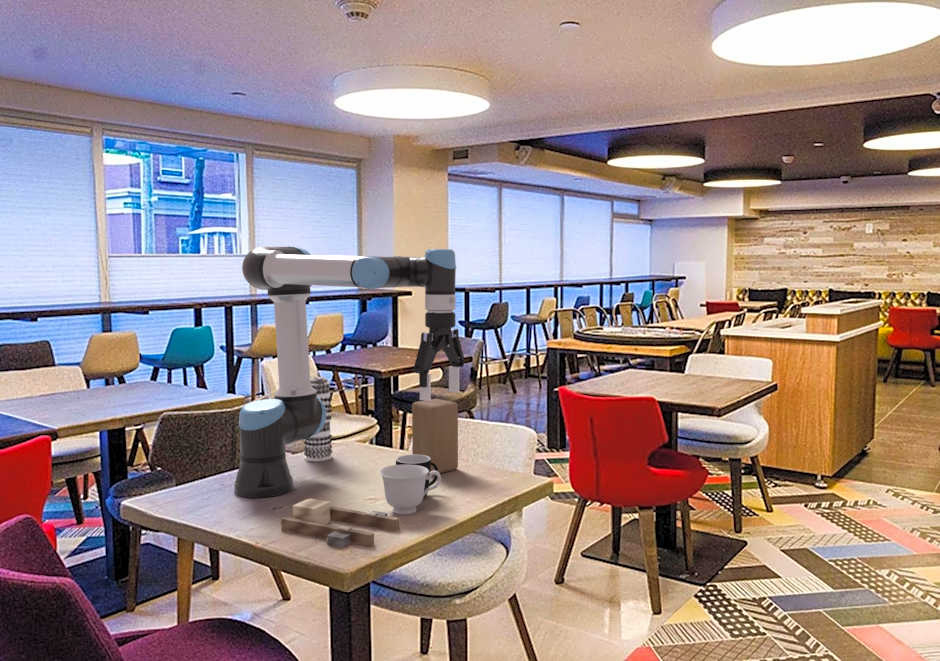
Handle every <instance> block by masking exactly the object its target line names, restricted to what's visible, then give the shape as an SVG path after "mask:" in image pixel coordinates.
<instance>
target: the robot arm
mask: <svg viewBox="0 0 940 661" xmlns="http://www.w3.org/2000/svg"><path fill="white" fill-rule="evenodd" d="M241 265H242V266H241V269H242V275H243V277H244V279H245V281H246V282H247V283H248V284H249V285H250V286H251V287H253V288H256V289H258V290H263V291H264V290H265V291H266V290H267V298H269V299H270V300H271V301H272V303H273V305H274V306H273V308H274V323H275V340H276V341H275V342H276V353H277V354H276V355H277V370H278V386H279V387H278V389H277V390H276V391H275V392H274V395H273V396H274V398H264V399H261V400H260V399H259V400H258V399H257V400H254V401H251V402H248V403H246V404H244V405H243V406H242V407H241V408H240V411H239V418H238V419H239V420H238V429H239V450H240V451H239V454H240V455H239V456H240V464H239V467H238V470H237V475H236V476H235V477H236V478H235V480H234V483H233V484H234V486H233V487H234V494H236V495H238V496H240V497H245V498H255V499H256V498H269V497H275V496H280V495H283V494H286V493H289V492H291V491H292V490H293V488H294V480H293V476H292V475H291V471H290V467H289V465H288V463H287V457H286V456H287V455H286V446H287V445H289V444H292V443H295V442H298V441H305V439H307V438H310V437H311V436H313V435H316V434H317V433H318V432H319V431H320V430H321V429H322V428H323V426H324V424H325V421H326V409H325V406H324V404H323V403H322V401H321V399H319V398H318V397H317V392H316V390H315V389H314V388H313V387H312V386H311V383H310V377H311V371H310V370H311V368H310V356H309V355H310V354H309V352H310V351H309V337H308V321H307V320H308V318H307V306H306V301H307V299H308V298H309V297H310V296H311V287H312V286H323V287H326V286H328V287H344V288H345V287H348V288H362V289H367V290H377V289H385V288H387V289H388V288H389V289H390V288H403V287H406V288H407V287H414V288H415V287H416V288H417V287H419V288H424V290H425V292H424V293H425V295H424V309H425V311H426V312H425V314H424V316H425V317H424V318H425V319H424V325H425V327H426V328H428V332H422V333H420V334H421V335H420V344H419V347H418V349H417V354H416V358H415V362H414V365H413V368H412V369H413V372H414V373H415V374H419V376H418V377H419V378H418V379H419V383H418V386H419V401H424V400H425V401H431V399H432V398H431V396H432V393H431V392H432V391H431V390H432V389H431V388H432V387H431V386H432V381H431V380H432V379H431V378H432V376H431V375H432V373H429V372H430V371H431V368H432V365H433V364H434V361H435V358H436V356H437V353H439V352H440V351H441V350H443V351H444V353H445V355H446V358H447V360H448V361H449V364H450V366H448V392H450V393H460V369H461V367H464V366H465V365H464V364H465V362H466V360H465V357H464V353H463V352H464V351H463V348H462V345H461V341H460V337H459V336H460V335H459V329H458V328H455V327H456V313H455V312H454V311H455V310H456V302H457V299H456V269H457V266H456V265H457V264H456V252H455V251H454V250H453V249H451V248H450V249H449V248H428V249H426V250H425V253H424V256H421V257H420V256H401V255H400V256H396V255H395V256H377V255H376V256H375V255H373V256H372V255H371V256H370V255H366V256H365V255H364V256H359V255H326V254H325V255H322V254H321V255H319V254H317V255H316V254H311V253H310V252H309V251H307V250H306V249H304V248H303V247H302V248H301V247H297V246H259V247H256V248H253V249H252V250H250V251H249V252H248V253H246V255H245V257H244V259H243V260H242V264H241Z"/></svg>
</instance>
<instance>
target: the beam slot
mask: <svg viewBox="0 0 940 661" xmlns="http://www.w3.org/2000/svg"><path fill="white" fill-rule="evenodd" d="M330 520H334V521H339V522H344V523H350V524H351V523H352V524H355V525H356V524H357V525H361V526H367V527H368V526H369V527H371V528H373V527H374V528H379V529H383V530H389V531H398V530H400V518H399V517H395V516H390V515H389V516H388V512H384V511H378V510H372V511H368V512H365V511H361V510H355V509H348V508H343V507H342V508H341V507H336V506H332V505H330ZM280 527H281V528H280V530H282V529H284V530H283V531H287V530H289V531H288V532H292V531H294V532H293V533H297V534H298V533H299V534H303V535H309V536H314V537H320V538H324V539H327V543H326V544H327V545H329V546H332V547H333V546H335V547H339V548H345V547H346V546H348V545H350V544H355V545H361V546H365V547H366V546H367V547H372V546H374V545H375V533H374V532H373V531H372V532H371V531H365V530H360V529H355V528H352V527H351V526H346V525H341V526H338V525H333V524H329V523H327V524H323V523H317V522H312V521H306V520H301V519H295V518H293V517H290V516H284V517H282V518H281V519H280Z"/></svg>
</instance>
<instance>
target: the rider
mask: <svg viewBox="0 0 940 661" xmlns="http://www.w3.org/2000/svg"><path fill="white" fill-rule="evenodd" d="M330 506H331V501H328V500H324V499H315V498H312V497H311V498H310V497H309V498H307V499H304V500H302V501H299V502H297V503H295V504H293V505H292V518H295V519H301V520H306V521H312V522H317V523H323V524H329V523H331V519H330Z"/></svg>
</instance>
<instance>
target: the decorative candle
mask: <svg viewBox="0 0 940 661" xmlns="http://www.w3.org/2000/svg"><path fill="white" fill-rule="evenodd" d="M310 383H311V386H312V387H313V388H314V389H315V390H316V392H317V397H318V398H319V399H321V401H322V403H323V404H324V406H325V409H326V421H325V424H324V426H323V428H322V429H321V430H320V431H319V432H318V433H317V434H316V435H313V436H311V437H310V438H307V439H304V440H303V444H304V446H303V450H304V451H303V455H304V460H305V461H308V462H323V461H329V460H330V459H332V458H333V456H332V454H333V450H332V448H333V445H332V442H333V440H332V437H333V436H332V434H331V433H332V432H331V430H332V429H331V421H332V416H331V415H330V413H332V412H333V410H332V409H331V408H332V407H333V405H332V404H331V403H330V402H332V401H333V399H332V397H331V396H332V394H331V391H330V384H331V381H329V380H328V379H327V378H326V377H324V376H313V377H311V376H310Z"/></svg>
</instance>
